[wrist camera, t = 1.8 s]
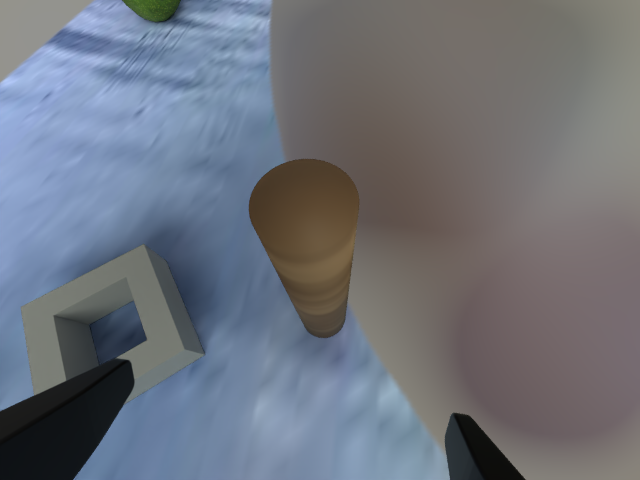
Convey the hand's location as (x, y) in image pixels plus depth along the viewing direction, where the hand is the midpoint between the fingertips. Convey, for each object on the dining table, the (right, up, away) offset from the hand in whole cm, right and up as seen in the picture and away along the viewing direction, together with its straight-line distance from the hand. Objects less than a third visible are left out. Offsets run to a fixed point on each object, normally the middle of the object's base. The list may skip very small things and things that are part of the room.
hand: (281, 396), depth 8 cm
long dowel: (+1, -1, +12) cm, 13 cm away
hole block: (-12, -2, +12) cm, 17 cm away
